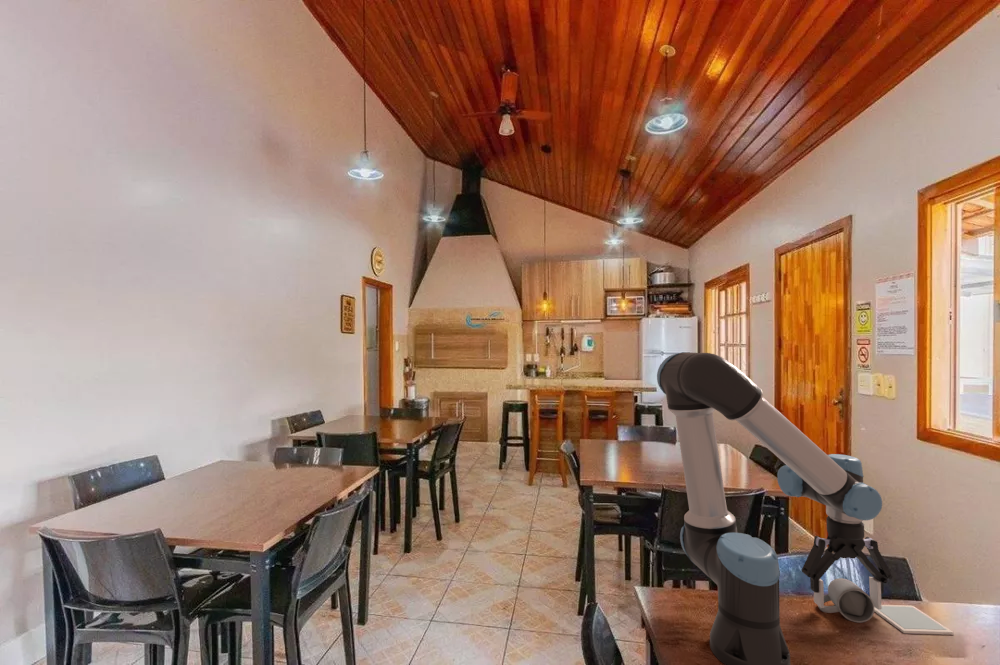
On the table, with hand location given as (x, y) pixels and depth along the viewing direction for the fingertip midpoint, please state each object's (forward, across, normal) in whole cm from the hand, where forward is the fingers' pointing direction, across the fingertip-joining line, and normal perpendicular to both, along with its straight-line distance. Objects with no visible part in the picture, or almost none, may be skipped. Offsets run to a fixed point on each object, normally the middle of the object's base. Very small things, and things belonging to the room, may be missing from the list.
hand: (847, 605), depth 114 cm
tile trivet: (+2, +13, -2) cm, 13 cm away
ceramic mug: (+2, -1, 0) cm, 2 cm away
